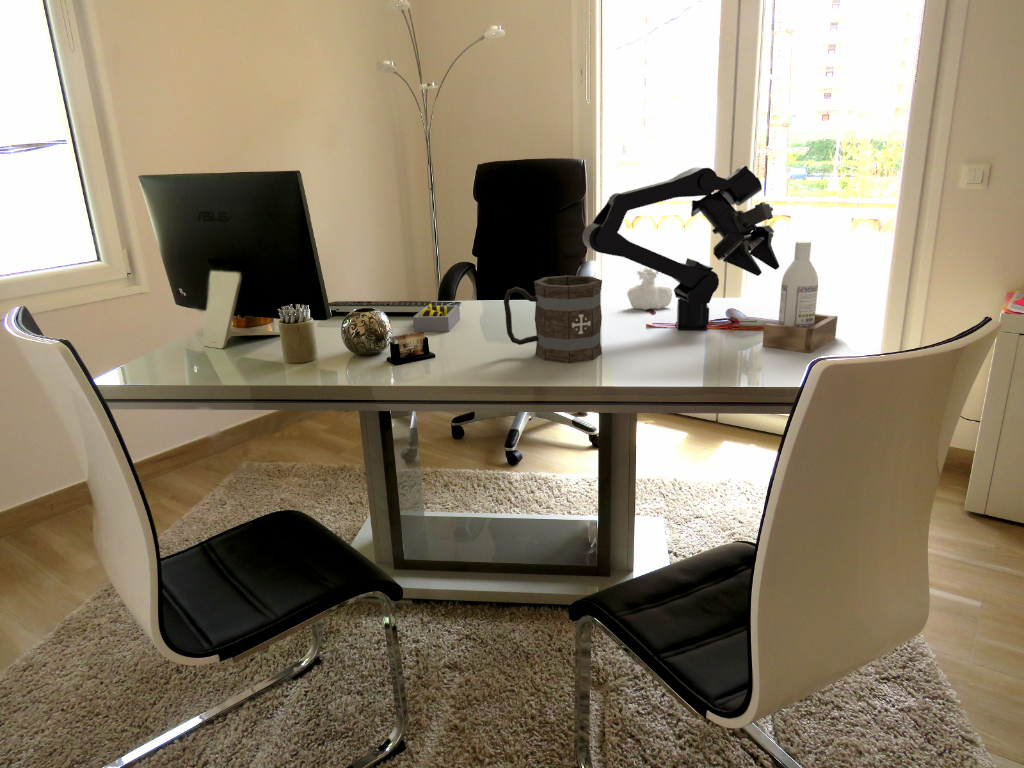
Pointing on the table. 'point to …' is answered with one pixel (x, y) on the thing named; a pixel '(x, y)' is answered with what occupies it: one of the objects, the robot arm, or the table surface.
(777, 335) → the u rest
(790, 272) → the bath foam
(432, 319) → the valet tray
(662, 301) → the white tied sack
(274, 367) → the table surface
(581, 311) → the mug
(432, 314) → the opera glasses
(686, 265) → the robot arm
